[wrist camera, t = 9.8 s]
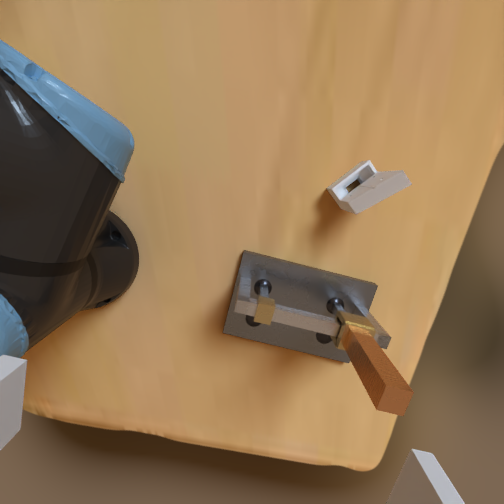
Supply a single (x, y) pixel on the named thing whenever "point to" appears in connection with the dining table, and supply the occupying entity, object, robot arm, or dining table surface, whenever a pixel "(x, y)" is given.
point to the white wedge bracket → (366, 187)
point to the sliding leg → (371, 363)
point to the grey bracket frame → (296, 314)
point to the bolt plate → (296, 302)
